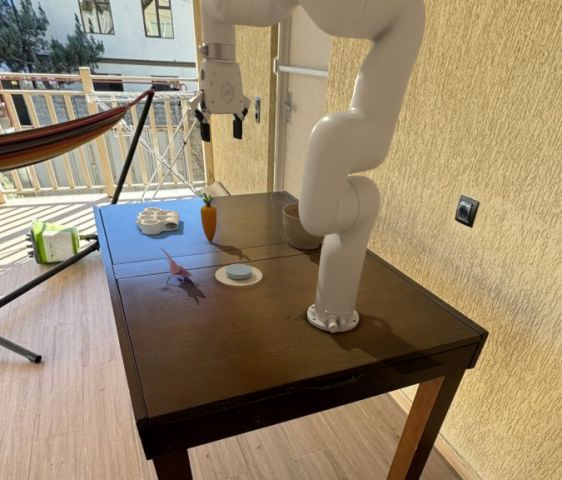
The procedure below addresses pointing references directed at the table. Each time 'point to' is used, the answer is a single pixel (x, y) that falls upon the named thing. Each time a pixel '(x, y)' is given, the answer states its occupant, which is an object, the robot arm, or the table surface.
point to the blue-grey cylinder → (238, 271)
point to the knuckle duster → (157, 220)
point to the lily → (177, 269)
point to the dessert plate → (250, 280)
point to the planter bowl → (298, 229)
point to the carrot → (208, 218)
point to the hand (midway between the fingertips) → (222, 139)
